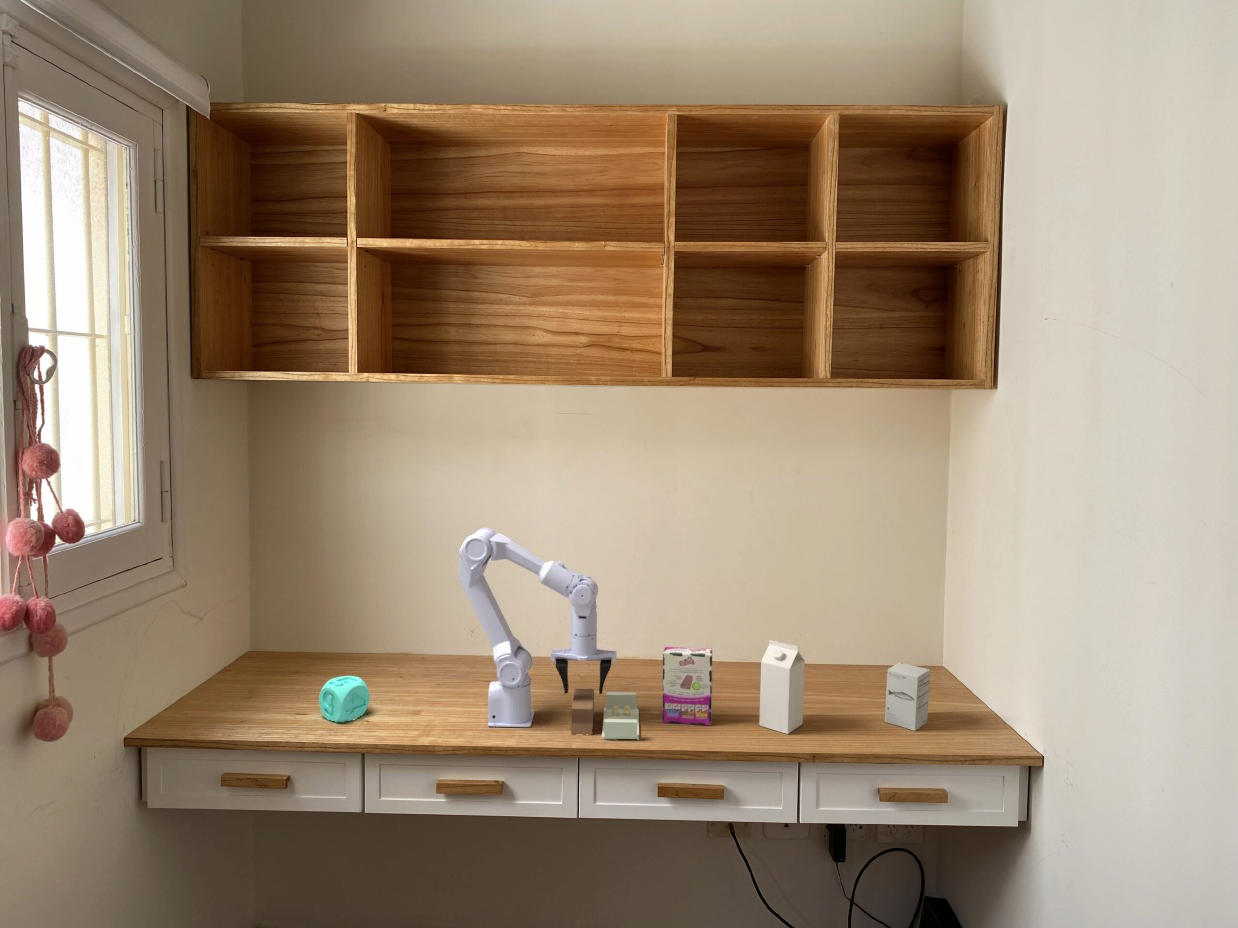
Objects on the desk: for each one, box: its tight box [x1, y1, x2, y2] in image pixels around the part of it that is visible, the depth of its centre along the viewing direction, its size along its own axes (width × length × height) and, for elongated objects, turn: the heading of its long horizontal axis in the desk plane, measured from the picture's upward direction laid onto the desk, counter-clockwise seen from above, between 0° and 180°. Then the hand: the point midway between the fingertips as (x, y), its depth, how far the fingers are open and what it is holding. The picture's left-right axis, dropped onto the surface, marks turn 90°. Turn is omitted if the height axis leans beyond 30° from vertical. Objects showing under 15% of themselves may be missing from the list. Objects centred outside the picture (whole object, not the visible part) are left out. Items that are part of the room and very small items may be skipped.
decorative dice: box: [318, 675, 371, 723], centre depth 186 cm, size 8×8×8 cm
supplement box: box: [884, 662, 932, 732], centre depth 186 cm, size 7×7×13 cm
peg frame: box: [601, 691, 640, 741], centre depth 183 cm, size 17×8×4 cm, turn 179°
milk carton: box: [759, 639, 806, 735], centre depth 183 cm, size 7×7×19 cm
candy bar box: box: [661, 646, 713, 726], centre depth 186 cm, size 11×5×16 cm, turn 82°
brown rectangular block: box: [570, 688, 595, 736], centre depth 184 cm, size 12×4×6 cm, turn 0°
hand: (583, 691), depth 183 cm, fingers open, 7 cm apart
